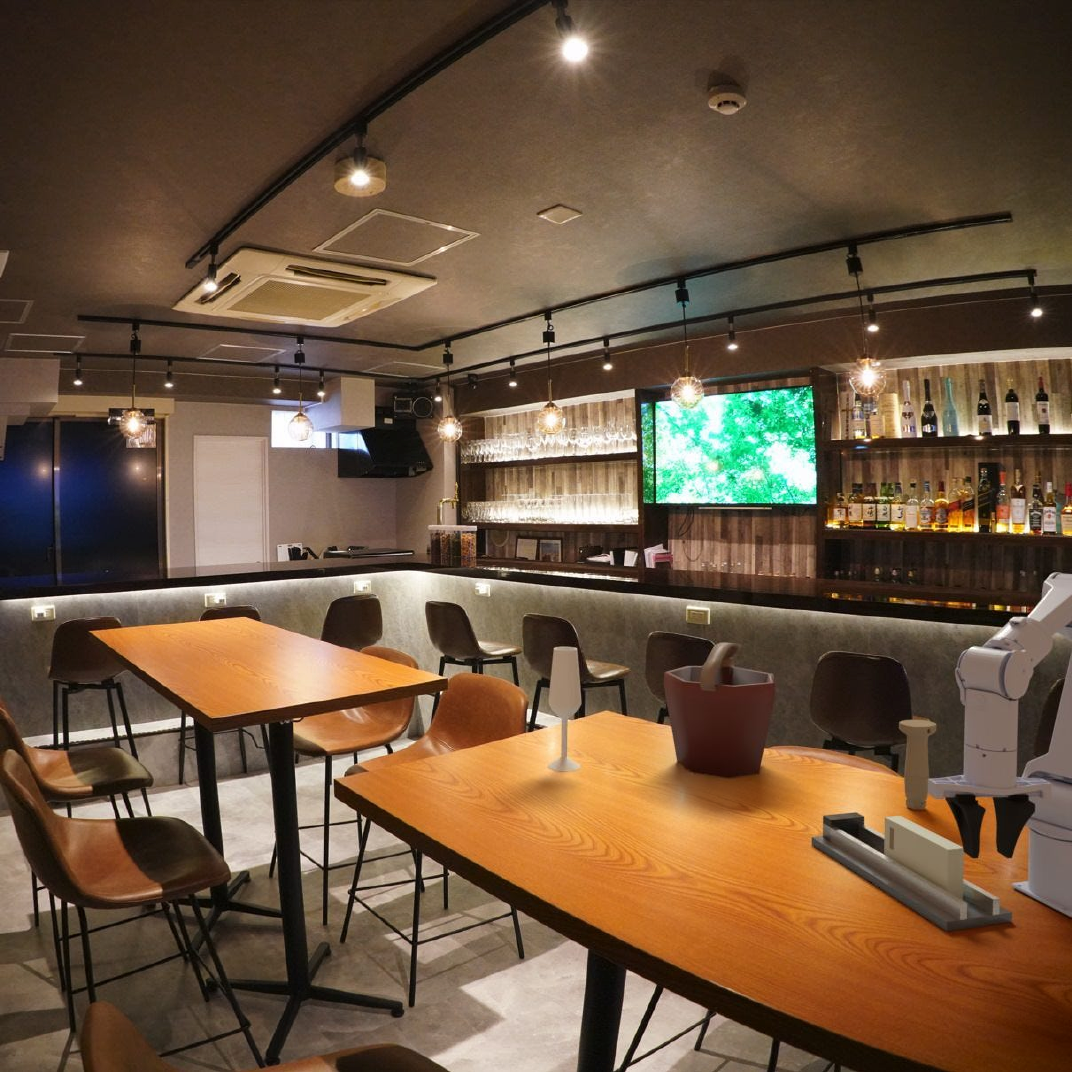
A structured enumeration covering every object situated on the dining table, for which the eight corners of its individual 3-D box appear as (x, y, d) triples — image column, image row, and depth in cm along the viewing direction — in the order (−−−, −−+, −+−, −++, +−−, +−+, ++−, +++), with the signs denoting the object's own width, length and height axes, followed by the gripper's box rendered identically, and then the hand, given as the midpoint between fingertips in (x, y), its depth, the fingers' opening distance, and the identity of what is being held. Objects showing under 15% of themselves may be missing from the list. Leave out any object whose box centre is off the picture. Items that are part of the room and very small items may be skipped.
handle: (940, 810, 145) (942, 724, 145) (913, 814, 143) (915, 728, 142) (918, 801, 150) (920, 718, 149) (891, 805, 147) (893, 721, 147)
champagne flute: (543, 769, 166) (545, 650, 165) (552, 760, 172) (554, 645, 172) (576, 772, 164) (577, 652, 163) (584, 763, 170) (585, 647, 170)
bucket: (702, 743, 187) (704, 633, 186) (798, 762, 173) (800, 643, 172) (644, 767, 168) (646, 645, 167) (746, 791, 154) (749, 657, 153)
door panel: (963, 901, 108) (964, 847, 107) (946, 903, 107) (947, 849, 107) (898, 863, 119) (899, 815, 119) (883, 865, 118) (884, 817, 118)
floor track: (1011, 921, 105) (1012, 887, 105) (946, 931, 102) (947, 896, 102) (866, 838, 132) (866, 811, 132) (811, 844, 129) (812, 816, 129)
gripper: (1027, 737, 106) (1024, 842, 106) (916, 736, 106) (914, 842, 106) (1064, 752, 99) (1061, 865, 99) (945, 752, 99) (943, 865, 99)
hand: (987, 855), depth 102 cm, fingers open, 4 cm apart
